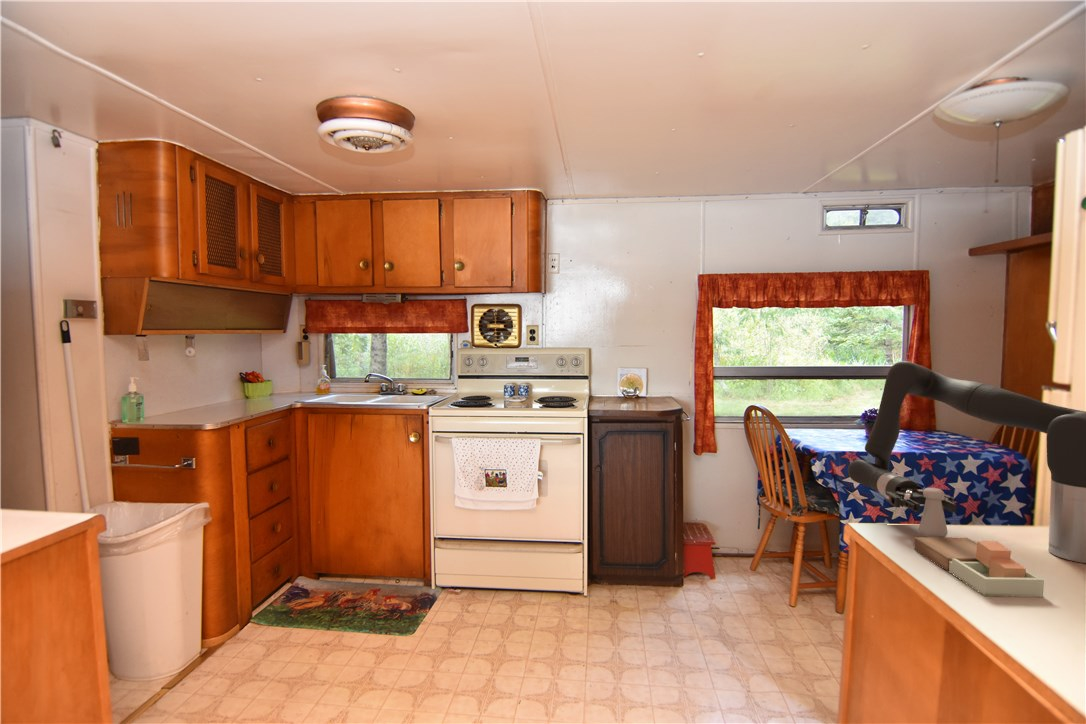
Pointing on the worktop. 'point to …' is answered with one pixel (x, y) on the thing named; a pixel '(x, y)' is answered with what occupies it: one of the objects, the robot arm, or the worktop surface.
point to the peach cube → (1006, 568)
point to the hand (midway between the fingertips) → (936, 508)
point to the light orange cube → (991, 551)
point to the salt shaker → (933, 514)
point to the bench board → (946, 549)
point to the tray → (996, 581)
